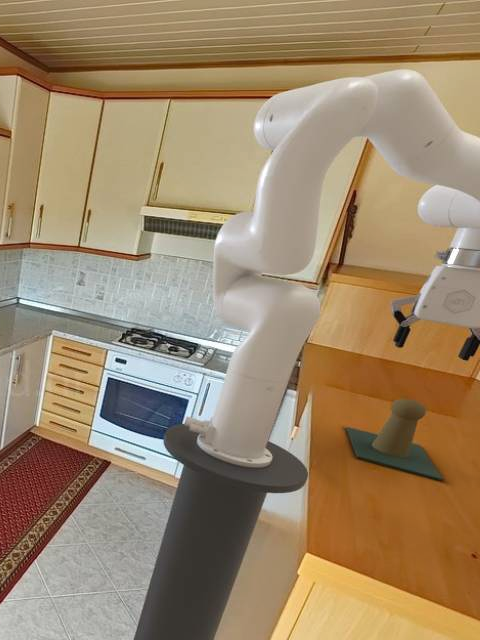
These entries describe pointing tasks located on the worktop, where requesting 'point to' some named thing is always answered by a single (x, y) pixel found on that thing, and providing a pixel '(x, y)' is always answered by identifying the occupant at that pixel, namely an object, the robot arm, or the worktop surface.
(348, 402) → the worktop surface
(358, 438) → the side mat
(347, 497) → the worktop surface
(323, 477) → the worktop surface
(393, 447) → the cork
